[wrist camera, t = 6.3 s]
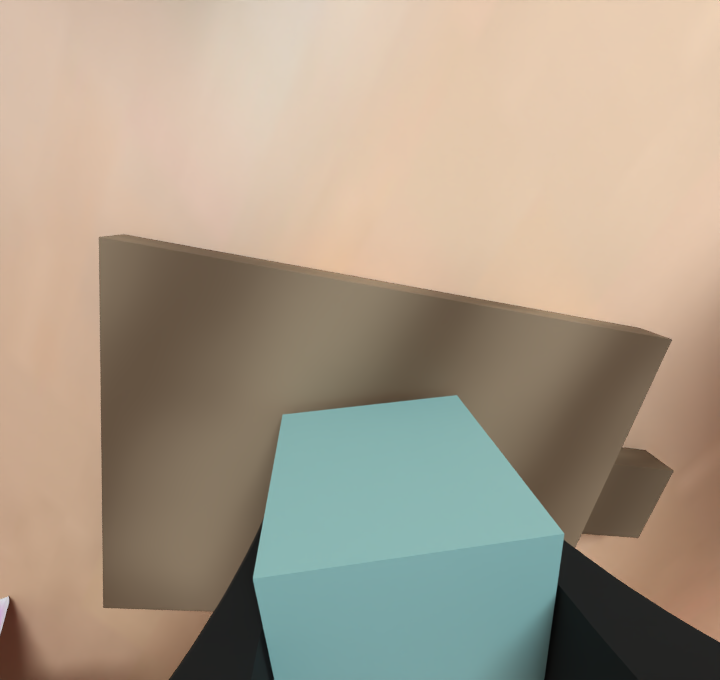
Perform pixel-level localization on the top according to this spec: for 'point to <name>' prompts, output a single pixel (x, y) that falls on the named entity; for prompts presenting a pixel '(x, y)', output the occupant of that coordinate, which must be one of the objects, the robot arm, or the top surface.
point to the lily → (3, 610)
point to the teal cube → (403, 550)
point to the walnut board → (332, 401)
